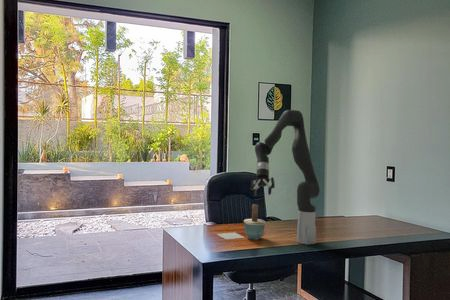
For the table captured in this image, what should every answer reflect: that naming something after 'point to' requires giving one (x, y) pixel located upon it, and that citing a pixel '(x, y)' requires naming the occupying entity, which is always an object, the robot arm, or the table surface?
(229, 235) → the mat
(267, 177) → the robot arm
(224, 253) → the table surface
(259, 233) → the flower pot
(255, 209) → the lid
